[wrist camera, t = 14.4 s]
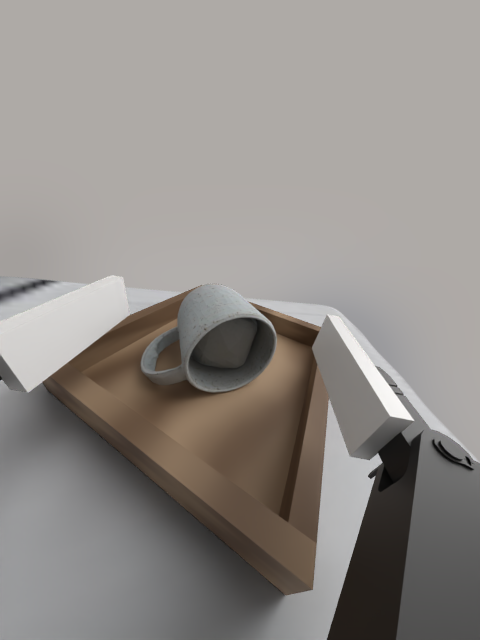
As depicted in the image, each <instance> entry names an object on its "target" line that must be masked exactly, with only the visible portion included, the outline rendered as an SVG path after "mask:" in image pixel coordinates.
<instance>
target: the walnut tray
mask: <svg viewBox="0 0 480 640" xmlns="http://www.w3.org/2000/svg"><path fill="white" fill-rule="evenodd" d="M201 286H202V285H201ZM198 287H199V286H198ZM198 287H196V288H198ZM196 288H194V289H196ZM194 289H191V290H189V291H186V292H184V293H182V294H179V295H177V296H175V297H172V298H170V299H167V300H165V301H163V302H160V303H158V304H155V305H153V306H151V307H148V308H146V309H144V310H141V311H139V312H136V313H134V314H132V315H129V316H128V317H126V318H125V319H124V320H122V321H121V322H120V323H118V324H117V325H116V326H115V327H113V328H112V329H111V330H109V331H108V332H107V333H105V334H104V335H103V336H101V337H100V338H99V339H98V340H96V341H95V342H94V343H92V344H91V345H90V346H88V347H87V348H86V349H85V350H83V351H82V352H81V353H79V354H78V355H77V356H75V357H74V358H73V359H72V360H70V361H69V362H68V363H66V364H65V365H64V366H62V367H61V368H60V369H59V370H57V371H56V372H55V373H53V374H52V375H51V376H49V377H48V378H47V379H45V380H44V381H43V384H44V386H45V387H46V389H47V390H48V391H49V392H50V393H51V394H52V395H54V396H55V397H56V398H57V399H58V400H59V401H61V402H62V403H63V404H64V405H65V406H66V407H68V408H69V409H70V410H71V411H72V412H73V413H74V414H76V415H77V416H78V417H79V418H80V419H81V420H83V421H84V422H85V423H86V424H87V425H88V426H90V427H91V428H92V429H93V430H94V431H95V432H97V433H98V434H99V435H100V436H101V437H102V438H104V439H105V440H106V441H107V442H108V443H109V444H110V445H112V446H113V447H114V448H115V449H116V450H117V451H119V452H120V453H121V454H122V455H123V456H124V457H126V458H127V459H128V460H129V461H130V462H131V463H133V464H134V465H135V466H136V467H137V468H138V469H139V470H141V471H142V472H143V473H144V474H145V475H146V476H148V477H149V478H150V479H151V480H152V481H153V482H155V483H156V484H157V485H158V486H159V487H160V488H162V489H163V490H164V491H165V492H166V493H167V494H169V495H170V496H171V497H172V498H173V499H174V500H175V501H177V502H178V503H179V504H180V505H181V506H182V507H184V508H185V509H186V510H187V511H188V512H189V513H191V514H192V515H193V516H194V517H195V518H196V519H198V520H199V521H200V522H201V523H202V524H203V525H204V526H206V527H207V528H208V529H209V530H210V531H211V532H213V533H214V534H215V535H216V536H217V537H218V538H220V539H221V540H222V541H223V542H224V543H225V544H227V545H228V546H229V547H230V548H231V549H232V550H234V551H235V552H236V553H237V554H238V555H239V556H240V557H242V558H243V559H244V560H245V561H246V562H247V563H249V564H250V565H251V566H252V567H253V568H254V569H256V570H257V571H258V572H259V573H260V574H261V575H263V576H264V577H265V578H266V579H267V580H268V581H269V582H271V583H272V584H273V585H274V586H275V587H276V588H278V589H279V590H280V591H281V592H282V593H283V594H285V595H290V594H295V593H299V592H304V591H308V590H313V580H314V568H315V556H316V544H317V532H318V520H319V508H320V496H321V484H322V472H323V460H324V448H325V436H326V424H327V412H328V400H329V396H328V393H327V390H326V387H325V384H324V382H323V379H322V376H321V373H320V370H319V367H318V365H317V362H316V359H315V356H314V353H313V350H312V346H313V344H314V342H315V340H316V338H317V335H318V333H319V331H320V329H321V327H319V326H316V325H313V324H310V323H308V322H305V321H302V320H299V319H296V318H293V317H291V316H288V315H285V314H282V313H279V312H276V311H274V310H271V309H268V308H265V307H262V306H259V305H257V304H254V303H251V302H249V303H250V304H251V305H252V306H253V307H255V308H256V309H257V310H258V311H259V312H260V313H261V314H262V315H264V316H265V317H266V318H267V319H268V320H269V321H270V322H271V323H272V325H273V327H274V329H275V332H276V336H277V346H276V350H275V353H274V355H273V358H272V360H271V361H270V363H269V365H268V366H267V367H266V369H265V370H264V371H263V372H262V373H261V374H260V375H259V376H258V377H257V378H255V379H254V380H252V381H251V382H250V383H248V384H246V385H244V386H242V387H240V388H237V389H234V390H231V391H226V392H220V393H210V392H205V391H202V390H199V389H197V388H195V387H194V386H192V385H191V384H190V383H189V382H188V380H185V381H182V382H179V383H175V384H171V385H165V386H164V385H158V384H156V383H153V382H152V381H151V380H150V379H149V378H148V377H147V376H146V375H145V374H144V373H143V372H142V371H141V358H142V355H143V353H144V351H145V350H146V348H147V347H148V346H149V344H150V343H151V342H152V341H153V340H154V339H155V338H156V337H158V336H160V335H161V334H163V333H164V332H166V331H168V330H170V329H172V328H174V327H177V326H178V325H177V318H178V312H179V308H180V306H181V303H182V301H183V300H184V298H185V297H186V296H187V295H188V294H189V293H190V292H191V291H192V290H194ZM181 364H182V360H181V349H180V339H179V340H177V341H176V342H174V343H172V344H170V345H169V346H168V347H166V348H165V349H164V350H163V351H161V352H160V354H159V355H158V358H157V361H156V367H155V371H163V370H168V369H172V368H176V367H178V366H180V365H181Z"/></svg>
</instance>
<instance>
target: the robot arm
mask: <svg viewBox="0 0 480 640" xmlns="http://www.w3.org/2000/svg"><path fill="white" fill-rule="evenodd" d="M129 315H130V310H129V305H128V300H127V295H126V290H125V285H124V280H123V277H118V276H113V275H111V276H108V277H106V278H104V279H101V280H99V281H96V282H94V283H92V284H89V285H87V286H84V287H82V288H79V289H77V290H75V291H72V292H70V293H67V294H65V295H63V296H60V297H58V298H55V299H53V300H51V301H48V302H46V303H43V304H41V305H39V306H36V307H34V308H31V309H29V310H26V311H24V312H22V313H19V314H17V315H14V316H12V317H10V318H7V319H5V320H2V321H0V380H3V381H4V382H5V384H6V385H7V386H8V387H9V389H11V390H16V391H21V392H26V393H29V392H30V391H31V390H32V389H34V388H35V387H36V386H38V385H39V384H40V383H42V382H43V381H44V380H45V379H47V378H48V377H49V376H51V375H52V374H53V373H55V372H56V371H57V370H59V369H60V368H61V367H62V366H64V365H65V364H66V363H68V362H69V361H70V360H72V359H73V358H74V357H75V356H77V355H78V354H79V353H81V352H82V351H83V350H85V349H86V348H87V347H88V346H90V345H91V344H92V343H94V342H95V341H96V340H98V339H99V338H100V337H101V336H103V335H104V334H105V333H107V332H108V331H109V330H111V329H112V328H113V327H115V326H116V325H117V324H118V323H120V322H121V321H122V320H124V319H125V318H126V317H128V316H129ZM312 350H313V353H314V356H315V359H316V362H317V365H318V367H319V370H320V373H321V376H322V379H323V382H324V384H325V387H326V390H327V393H328V396H329V399H330V401H331V404H332V407H333V410H334V413H335V416H336V418H337V421H338V424H339V427H340V430H341V433H342V435H343V438H344V441H345V444H346V447H347V450H348V452H349V455H350V456H351V457H356V458H361V459H366V460H370V459H371V458H373V457H374V456H375V455H376V454H377V453H378V454H379V456H380V458H381V460H382V462H383V463H382V464H381V465H379V466H378V467H377V468H376V469H374V470H373V471H372V472H371V473H370V474H369V475H368V477H369V478H370V479H371V478H373V477H374V476H376V477H375V480H374V484H373V487H372V490H371V494H370V497H369V500H368V504H367V507H366V510H365V514H364V517H363V521H362V524H361V527H360V531H359V534H358V537H357V541H356V544H355V547H354V551H353V554H352V557H351V561H350V564H349V567H348V571H347V574H346V577H345V581H344V584H343V587H342V591H341V594H340V598H339V601H338V604H337V608H336V611H335V614H334V618H333V621H332V624H331V628H330V631H329V634H328V638H327V640H480V463H478V462H476V461H474V460H473V459H472V458H471V456H470V455H469V454H468V453H467V452H466V451H465V450H464V449H463V448H462V447H461V446H460V445H459V444H458V443H456V442H455V441H453V440H452V439H451V438H449V437H448V436H446V435H444V434H442V433H440V432H438V431H435V430H431V429H430V428H429V426H428V425H427V424H426V422H425V421H424V420H423V419H422V417H421V416H420V415H419V413H418V412H417V411H416V409H415V408H414V407H413V406H412V404H411V403H410V402H409V400H408V399H407V398H406V396H404V395H403V393H402V391H401V390H400V389H399V388H397V385H396V383H395V382H394V381H393V380H392V378H391V377H390V376H389V375H388V374H387V373H386V372H384V371H383V370H382V369H381V368H380V367H376V366H375V365H374V364H373V363H372V361H371V360H370V359H369V357H368V356H367V354H366V353H365V352H364V350H363V349H362V347H361V346H360V345H359V343H358V342H357V341H356V339H355V338H354V336H353V335H352V334H351V332H350V331H349V329H348V328H347V327H346V325H345V324H344V323H343V321H342V320H341V318H340V317H338V316H333V315H327V316H326V318H325V320H324V322H323V325H322V327H321V329H320V331H319V333H318V335H317V338H316V340H315V342H314V344H313V346H312Z"/></svg>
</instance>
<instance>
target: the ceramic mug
mask: <svg viewBox="0 0 480 640" xmlns="http://www.w3.org/2000/svg"><path fill="white" fill-rule="evenodd" d="M177 325H178V326H177V327H174V328H172V329H170V330H168V331H166V332H164V333H163V334H161V335H160V336H158V337H156V338H155V339H154V340H153V341H152V342H151V343H150V344H149V346H148V347H147V348H146V350H145V351H144V353H143V355H142V358H141V371H142V372H143V373H144V374H145V375H146V376H147V377H148V378H149V379H150V380H151V381H152V382H153V383H156V384H158V385H164V386H165V385H171V384H175V383H179V382H182V381H185V380H188V382H189V383H190V384H191V385H192V386H194V387H195V388H197V389H199V390H202V391H205V392H210V393H220V392H226V391H231V390H234V389H237V388H240V387H242V386H244V385H246V384H248V383H250V382H251V381H252V380H254V379H255V378H257V377H258V376H259V375H260V374H261V373H262V372H263V371H264V370H265V369H266V367H267V366H268V365H269V363H270V361H271V360H272V358H273V355H274V353H275V350H276V346H277V336H276V332H275V329H274V327H273V325H272V323H271V322H270V321H269V320H268V319H267V318H266V317H265V316H264V315H262V314H261V313H260V312H259V311H258V310H257V309H256V308H255V307H253V306H252V305H251V304H250V303H249V302H248V301H247V300H245V299H244V298H243V297H242V296H241V295H240V294H239V293H237V292H236V291H235V290H233V289H231V288H229V287H227V286H224V285H220V284H207V285H202V286H199V287H198V288H196V289H194V290H192V291H191V292H190V293H189V294H188V295H187V296H186V297H185V298H184V300H183V301H182V303H181V306H180V308H179V312H178V318H177ZM179 339H180V349H181V360H182V364H181V365H180V366H178V367H176V368H172V369H168V370H163V371H155V367H156V361H157V358H158V355H159V354H160V352H161V351H163V350H164V349H165V348H166V347H168V346H169V345H170V344H172V343H174V342H176V341H177V340H179Z"/></svg>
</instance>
